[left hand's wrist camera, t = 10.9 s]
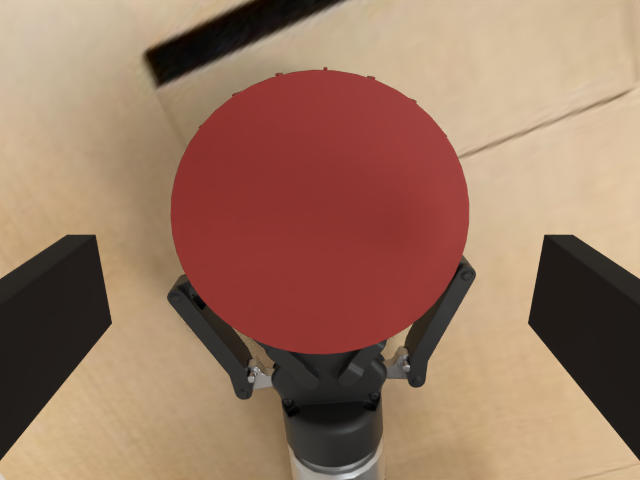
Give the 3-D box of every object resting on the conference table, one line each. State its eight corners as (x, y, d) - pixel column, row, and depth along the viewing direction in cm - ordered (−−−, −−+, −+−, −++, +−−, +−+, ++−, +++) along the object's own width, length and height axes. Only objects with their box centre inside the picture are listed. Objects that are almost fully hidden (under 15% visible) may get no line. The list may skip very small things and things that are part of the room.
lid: (369, 362, 21) (374, 394, 19) (147, 262, 20) (126, 286, 17) (508, 155, 18) (533, 167, 16) (254, 10, 16) (244, 1, 14)
